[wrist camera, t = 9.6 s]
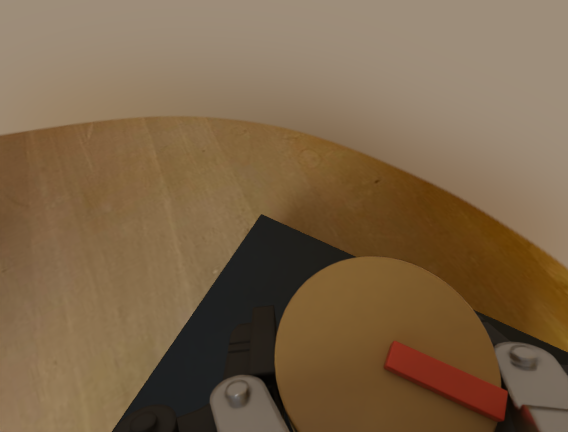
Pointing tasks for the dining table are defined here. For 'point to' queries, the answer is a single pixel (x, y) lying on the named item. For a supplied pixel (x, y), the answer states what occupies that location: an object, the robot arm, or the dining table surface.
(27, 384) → the dining table surface
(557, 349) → the console
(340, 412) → the tan pointer knob
